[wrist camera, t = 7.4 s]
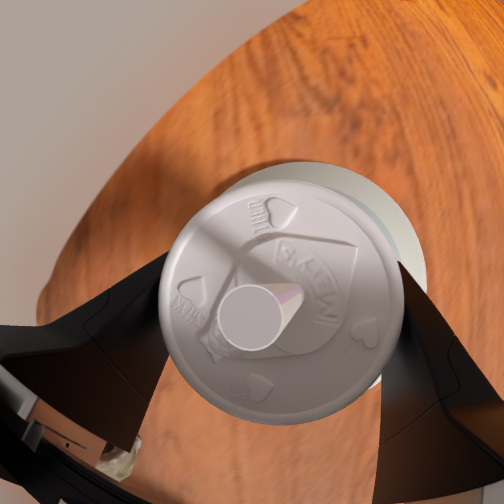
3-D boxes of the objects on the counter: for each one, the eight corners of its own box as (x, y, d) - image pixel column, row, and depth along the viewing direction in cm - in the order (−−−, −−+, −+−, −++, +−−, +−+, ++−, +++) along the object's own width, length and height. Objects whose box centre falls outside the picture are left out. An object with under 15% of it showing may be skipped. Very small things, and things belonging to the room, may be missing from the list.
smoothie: (376, 305, 15) (569, 378, 1) (284, 368, 16) (177, 570, 2) (311, 215, 16) (273, -7, 3) (223, 279, 17) (-12, 262, 3)
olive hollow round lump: (149, 455, 24) (117, 518, 15) (87, 427, 25) (48, 479, 15) (143, 405, 22) (95, 484, 12) (71, 373, 22) (15, 431, 13)
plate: (254, 432, 20) (250, 440, 19) (154, 242, 23) (146, 240, 22) (454, 327, 17) (461, 329, 16) (341, 130, 21) (342, 122, 19)
